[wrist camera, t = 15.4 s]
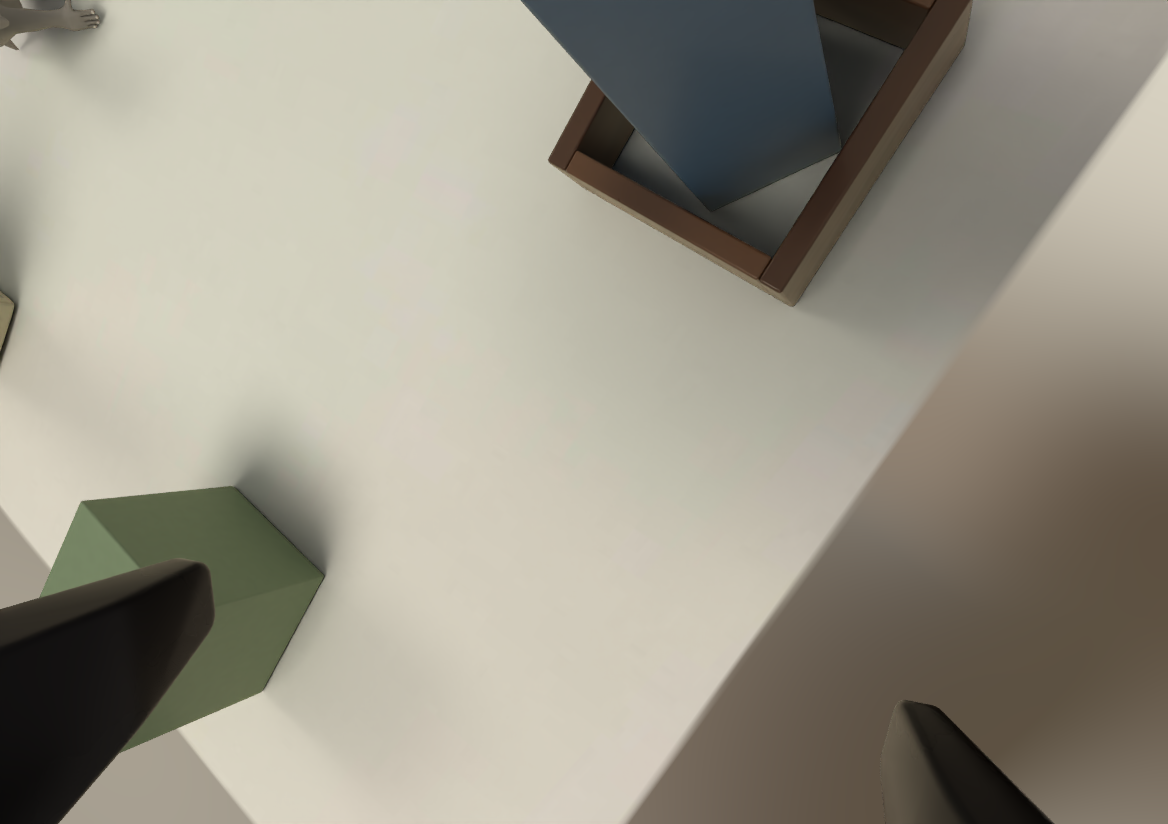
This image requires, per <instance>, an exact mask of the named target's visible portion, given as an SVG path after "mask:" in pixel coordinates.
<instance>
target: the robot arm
mask: <svg viewBox="0 0 1168 824" xmlns="http://www.w3.org/2000/svg"><path fill="white" fill-rule="evenodd" d="M215 614H216V613H215V603H214V595H213V587H212V579H211V572H210V569H209V568H208V566H207V565H206V564H204V563H203V562H199V561H194V560H189V559H184V558H174V559H170V560H167V561H163V562H160V563H156V564H153V565H150V566H146V567H143V568H139V569H136V570H133V571H129V572H126V573H122V574H119V575H116V576H112V577H109V578H105V579H102V580H98V581H95V582H92V583H88V584H85V585H81V586H78V587H75V588H71V589H68V590H64V591H61V592H58V593H54V594H51V595H47V596H44V597H41V598H37V599H34V600H30V601H27V602H24V603H20V604H17V605H13V606H10V607H6V608H3V609H0V824H58V823H59V822H60V821H61V820H62V819H63V818H64V816H65V815H66V814H67V813H68V812H69V811H70V809H71V808H72V807H73V806H74V805H75V804H76V802H77V801H78V800H79V799H80V798H81V797H82V796H83V794H84V793H85V792H86V791H87V790H88V789H89V787H90V786H91V785H92V784H93V783H94V782H95V780H96V779H97V778H98V777H99V776H100V775H101V773H102V772H103V771H104V770H105V769H106V768H107V766H108V765H109V764H110V763H111V762H112V761H113V760H114V758H115V757H116V756H117V755H118V754H119V753H120V751H121V750H122V749H123V748H124V747H125V746H126V744H127V743H128V742H129V741H130V740H131V738H132V737H133V736H134V735H135V734H136V732H137V731H138V730H139V729H140V727H141V726H142V725H143V723H144V722H145V721H146V719H147V718H148V717H149V716H150V714H151V713H152V712H153V710H154V709H155V707H156V706H157V705H158V703H159V702H160V700H161V699H162V698H163V696H164V695H165V694H166V692H167V691H168V689H169V688H170V687H171V685H172V684H173V682H174V681H175V680H176V678H177V677H178V675H179V674H180V673H181V671H182V670H183V669H184V667H185V666H186V664H187V663H188V662H189V660H190V659H191V657H192V656H193V655H194V653H195V652H196V651H197V649H198V648H199V646H200V645H201V644H202V642H203V641H204V639H205V638H206V637H207V635H208V634H209V632H210V631H211V629H212V626H213V624H214V621H215ZM880 776H881V786H882V796H883V806H884V816H885V824H1054V823H1053V822H1052V821H1051V820H1050V819H1049V818H1048V817H1047V816H1046V815H1045V814H1044V813H1043V812H1042V811H1041V810H1040V809H1039V808H1038V807H1037V806H1036V805H1035V804H1034V803H1033V802H1032V801H1031V800H1030V799H1029V798H1028V797H1027V796H1026V795H1025V794H1024V793H1023V792H1022V791H1021V790H1020V789H1019V788H1018V787H1017V786H1016V785H1015V784H1014V783H1013V782H1012V781H1011V780H1010V779H1009V778H1008V777H1007V776H1006V775H1005V774H1004V773H1003V772H1002V771H1001V770H1000V769H999V768H998V767H997V766H996V765H995V764H994V763H993V762H992V761H991V760H990V759H989V758H988V757H987V756H986V755H985V754H984V753H983V752H982V751H981V750H980V749H979V748H978V747H977V746H976V745H975V744H974V743H973V742H972V741H971V740H970V739H969V738H968V737H967V736H966V735H965V734H964V733H963V732H962V731H961V730H960V729H959V728H958V727H957V726H956V725H955V724H954V723H953V722H952V721H951V720H950V719H949V718H948V717H947V716H946V715H945V714H944V713H943V712H942V711H941V710H940V709H939V708H937V707H936V706H933V705H928V704H923V703H918V702H913V701H908V700H902V701H900V702H898V704H897V705H896V707H895V709H894V712H893V715H892V719H891V722H890V726H889V730H888V733H887V737H886V740H885V743H884V747H883V751H882V755H881V763H880Z"/></svg>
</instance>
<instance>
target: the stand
mask: <svg viewBox="0 0 1168 824" xmlns="http://www.w3.org/2000/svg"><path fill="white" fill-rule="evenodd" d="M813 2H814V7H815V12H816V14H819V15H821V16H824V17H826V18H829V19H831V20H834V21H836V22H839V23H841V24H844V25H846V26H849V27H851V28H854V29H856V30H858V31H861V32H863V33H866V34H868V35H871V36H873V37H876V38H878V39H881V40H883V41H886V42H888V43H891V44H893V45H896V46H898V47H901V48H903V49H905V50H904V52H903V53H902V55H901V57H900V58H899V60H898V61H897V63H896V64H895V66H894V68H893V69H892V71H891V72H890V74H889V75H888V77H887V79H886V80H885V82H884V83H883V85H882V86H881V88H880V90H879V91H878V93H877V94H876V96H875V97H874V99H873V101H872V102H871V104H870V105H869V107H868V108H867V110H866V112H865V113H864V115H863V116H862V118H861V120H860V121H859V123H858V124H857V126H856V127H855V129H854V131H853V132H852V134H851V135H850V137H849V138H848V140H847V142H846V143H845V145H844V146H843V148H842V149H841V151H840V153H839V154H838V156H837V157H836V159H835V160H834V162H833V164H832V165H831V167H830V168H829V170H828V171H827V173H826V175H825V176H824V178H823V179H822V181H821V183H820V184H819V186H818V187H817V189H816V190H815V192H814V194H813V195H812V197H811V198H810V200H809V201H808V203H807V205H806V206H805V208H804V209H803V211H802V212H801V214H800V216H799V217H798V219H797V220H796V222H795V223H794V225H793V227H792V228H791V230H790V231H789V233H788V234H787V236H786V238H785V239H784V241H783V242H782V244H781V246H780V247H779V249H778V250H777V252H776V253H775V255H774V257H773V258H771V257H770V256H769V255H767V254H765V253H763V252H762V251H760V250H758V249H756V248H754V247H753V246H751V245H749V244H747V243H745V242H744V241H742V240H740V239H738V238H736V237H734V236H733V235H731V234H729V233H727V232H725V231H724V230H722V229H720V228H718V227H716V226H715V225H713V224H711V223H709V222H707V221H705V220H704V219H702V218H700V217H698V216H696V215H695V214H693V213H691V212H689V211H687V210H686V209H684V208H682V207H680V206H678V205H676V204H675V203H673V202H671V201H669V200H667V199H666V198H664V197H662V196H660V195H658V194H657V193H655V192H653V191H651V190H649V189H647V188H646V187H644V186H642V185H640V184H638V183H637V182H635V181H633V180H631V179H629V178H628V177H626V176H624V175H622V174H620V173H618V172H617V171H615V170H613V169H612V167H613V165H614V163H615V162H616V160H617V158H618V156H619V154H620V153H621V151H622V149H623V147H624V146H625V144H626V142H627V140H628V138H629V137H630V135H631V133H632V131H633V130H634V126H633V125H632V124H631V123H630V122H629V121H628V120H627V119H626V118H625V116H624V115H623V114H622V113H621V112H620V111H619V110H618V109H617V107H616V106H615V105H614V104H613V103H612V102H611V101H610V100H609V99H608V97H607V96H606V95H605V94H604V93H603V92H602V91H601V90H600V88H599V87H598V86H597V85H596V84H595V83H594V82H593V81H592V80H591V81H590V83H589V85H588V86H587V88H586V90H585V92H584V94H583V96H582V98H581V99H580V101H579V103H578V105H577V107H576V109H575V111H574V112H573V114H572V116H571V118H570V120H569V122H568V124H567V125H566V127H565V129H564V131H563V133H562V135H561V136H560V138H559V140H558V142H557V144H556V146H555V148H554V149H553V151H552V153H551V155H550V157H549V159H548V161H549V163H550V164H552V165H553V166H554V167H556V168H557V169H558V170H560V171H561V172H562V173H564V174H565V175H567V176H568V177H569V178H571V179H572V180H573V181H575V182H576V183H577V184H579V185H580V186H581V187H583V188H585V189H586V190H588V191H590V192H592V193H593V194H596V195H597V196H599V197H600V198H602V199H604V200H606V201H607V202H609V203H611V204H613V205H614V206H616V207H618V208H620V209H621V210H623V211H625V212H626V213H628V214H630V215H632V216H633V217H635V218H637V219H639V220H640V221H642V222H644V223H646V224H647V225H649V226H651V227H653V228H654V229H656V230H658V231H660V232H661V233H663V234H665V235H667V236H668V237H670V238H672V239H674V240H675V241H677V242H679V243H681V244H682V245H684V246H686V247H687V248H689V249H691V250H693V251H694V252H696V253H698V254H700V255H701V256H703V257H705V258H707V259H708V260H710V261H712V262H714V263H715V264H717V265H719V266H721V267H722V268H724V269H726V270H728V271H729V272H731V273H733V274H735V275H736V276H738V277H740V278H741V279H743V280H745V281H747V282H748V283H750V284H752V285H754V286H755V287H757V288H759V289H761V290H762V291H764V292H766V293H768V294H769V295H773V296H774V297H775V298H776V299H778V300H780V301H782V302H783V303H785V304H787V305H789V306H790V307H793V306H795V304H796V303H797V301H798V300H799V298H800V297H801V295H802V293H803V292H804V290H805V289H806V287H807V286H808V284H809V283H810V281H811V280H812V278H813V277H814V275H815V274H816V272H817V270H818V269H819V267H820V266H821V264H822V263H823V261H824V260H825V258H826V257H827V255H828V254H829V252H830V251H831V249H832V248H833V246H834V244H835V243H836V241H837V240H838V238H839V237H840V235H841V234H842V232H843V231H844V229H845V228H846V226H847V225H848V223H849V221H850V220H851V218H852V217H853V215H854V214H855V212H856V211H857V209H858V208H859V206H860V205H861V203H862V202H863V200H864V199H865V197H866V195H867V194H868V192H869V191H870V189H871V188H872V186H873V185H874V183H875V182H876V180H877V179H878V177H879V176H880V174H881V172H882V171H883V169H884V168H885V166H886V165H887V163H888V162H889V160H890V159H891V157H892V156H893V154H894V153H895V151H896V150H897V148H898V146H899V145H900V143H901V142H902V140H903V139H904V137H905V136H906V134H907V133H908V131H909V130H910V128H911V127H912V125H913V123H914V122H915V120H916V119H917V117H918V116H919V114H920V113H921V111H922V110H923V108H924V107H925V105H926V104H927V102H928V101H929V99H930V97H931V96H932V94H933V93H934V91H935V90H936V88H937V87H938V85H939V84H940V82H941V81H942V79H943V78H944V76H945V75H946V73H947V71H948V70H949V68H950V67H951V65H952V64H953V62H954V61H955V59H956V58H957V56H958V55H959V53H960V52H961V50H962V48H963V47H964V45H965V40H966V35H967V30H968V24H969V19H970V13H971V8H972V3H973V0H813Z"/></svg>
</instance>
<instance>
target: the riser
mask: <svg viewBox="0 0 1168 824" xmlns="http://www.w3.org/2000/svg"><path fill="white" fill-rule="evenodd" d="M174 558H184V559H189V560H194V561H199V562H203V563H204V564H206V565H207V566H208V568H209V569H210V572H211V579H212V587H213V595H214V603H215V613H216V614H215V621H214V624H213V626H212V629H211V631H210V632H209V634H208V635H207V637H206V638H205V639H204V641H203V642H202V644H201V645H200V646H199V648H198V649H197V651H196V652H195V653H194V655H193V656H192V657H191V659H190V660H189V662H188V663H187V664H186V666H185V667H184V669H183V670H182V671H181V673H180V674H179V675H178V677H177V678H176V680H175V681H174V682H173V684H172V685H171V687H170V688H169V689H168V691H167V692H166V694H165V695H164V696H163V698H162V699H161V700H160V702H159V703H158V705H157V706H156V707H155V709H154V710H153V712H152V713H151V714H150V716H149V717H148V718H147V719H146V721H145V722H144V723H143V725H142V726H141V727H140V729H139V730H138V731H137V732H136V734H135V735H134V736H133V737H132V738H131V740H130V741H129V742H128V743H127V744H126V746H125V747H124V748H123V749H122V750H121V751H120V753H121V752H123V751H125V750H128V749H130V748H132V747H135V746H137V745H139V744H142V743H144V742H146V741H149V740H151V739H153V738H156V737H158V736H160V735H163V734H165V733H167V732H170V731H172V730H174V729H177V728H179V727H181V726H184V725H186V724H188V723H191V722H193V721H195V720H198V719H200V718H202V717H205V716H207V715H209V714H212V713H214V712H216V711H219V710H221V709H223V708H226V707H228V706H230V705H233V704H235V703H237V702H240V701H242V700H244V699H247V698H249V697H251V696H254V695H256V694H258V693H260V692H262V690H263V689H264V687H265V685H266V683H267V681H268V679H269V677H270V676H271V674H272V672H273V670H274V668H275V666H276V664H277V663H278V661H279V659H280V657H281V655H282V653H283V652H284V650H285V648H286V646H287V644H288V642H289V640H290V639H291V637H292V635H293V633H294V631H295V629H296V627H297V626H298V624H299V622H300V620H301V618H302V616H303V615H304V613H305V611H306V609H307V607H308V605H309V603H310V602H311V600H312V598H313V596H314V594H315V592H316V590H317V589H318V587H319V585H320V583H321V581H322V579H323V577H324V576H323V574H322V573H321V572H320V571H319V570H318V569H317V568H316V567H315V566H314V565H313V564H312V563H311V562H310V561H309V560H308V559H307V558H306V557H305V556H304V555H302V554H301V553H300V552H299V551H298V550H297V549H296V548H295V547H294V546H293V545H292V544H291V543H290V542H289V541H288V540H287V539H286V538H285V537H284V536H283V535H282V534H281V533H280V532H279V531H278V530H277V529H276V528H275V527H274V526H273V525H272V524H271V523H270V522H269V521H268V520H267V519H266V518H265V517H264V516H263V515H262V514H261V513H260V512H259V511H258V510H257V509H256V508H255V507H254V506H253V505H252V504H251V503H250V502H249V501H248V500H247V499H246V498H245V497H244V496H243V495H242V494H241V493H240V492H239V491H238V490H237V489H236V488H235V487H233V486H228V487H218V488H208V489H198V490H188V491H178V492H168V493H158V494H147V495H137V496H127V497H117V498H107V499H97V500H87V501H82V502H81V503H80V505H79V507H78V510H77V512H76V514H75V517H74V519H73V521H72V524H71V526H70V528H69V530H68V533H67V535H66V537H65V540H64V542H63V544H62V547H61V549H60V551H59V553H58V556H57V558H56V560H55V563H54V565H53V567H52V570H51V572H50V574H49V577H48V579H47V581H46V583H45V586H44V588H43V591H42V593H41V595H40V597H39V598H41V597H44V596H47V595H51V594H54V593H58V592H61V591H64V590H68V589H71V588H75V587H78V586H81V585H85V584H88V583H92V582H95V581H98V580H102V579H105V578H109V577H112V576H116V575H119V574H122V573H126V572H129V571H133V570H136V569H139V568H143V567H146V566H150V565H153V564H156V563H160V562H163V561H167V560H170V559H174Z"/></svg>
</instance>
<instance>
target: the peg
mask: <svg viewBox="0 0 1168 824" xmlns="http://www.w3.org/2000/svg"><path fill="white" fill-rule="evenodd" d="M521 1H522V2H523V4H524V5H525V6H526V7H527V8H528V9H529V10H530V11H531V12H532V14H533V15H534V16H535V17H536V18H537V19H538V20H539V21H540V23H541V24H542V25H543V26H544V27H545V28H546V29H547V30H548V31H549V33H550V34H551V35H552V36H553V37H554V38H555V39H556V40H557V42H558V43H559V44H560V45H561V46H562V47H563V48H564V49H565V50H566V52H567V53H568V54H569V55H570V56H571V57H572V58H573V59H574V61H575V62H576V63H577V64H578V65H579V66H580V67H581V68H582V69H583V71H584V72H585V73H586V74H587V75H588V76H589V77H590V78H591V80H592V81H593V82H594V83H595V84H596V85H597V86H598V87H599V88H600V90H601V91H602V92H603V93H604V94H605V95H606V96H607V97H608V99H609V100H610V101H611V102H612V103H613V104H614V105H615V106H616V107H617V109H618V110H619V111H620V112H621V113H622V114H623V115H624V116H625V118H626V119H627V120H628V121H629V122H630V123H631V124H632V125H633V126H634V128H635V129H636V130H637V131H638V132H639V133H640V134H641V135H642V137H643V138H644V139H645V140H646V141H647V142H648V143H649V144H650V145H651V147H652V148H653V149H654V150H655V151H656V152H657V153H658V154H659V156H660V157H661V158H662V159H663V160H664V161H665V162H666V163H667V164H668V166H669V167H670V168H671V169H672V170H673V171H674V172H675V173H676V175H677V176H678V177H679V178H680V179H681V180H682V181H683V182H684V183H685V185H686V186H687V187H688V188H689V189H690V190H691V191H692V192H693V194H694V195H695V196H696V197H697V198H698V199H699V200H700V201H701V202H702V204H703V205H704V206H705V207H706V208H707V209H708V210H709V211H713V210H715V209H718V208H720V207H722V206H724V205H726V204H728V203H730V202H733V201H735V200H737V199H739V198H741V197H743V196H745V195H747V194H750V193H752V192H754V191H756V190H758V189H760V188H762V187H765V186H767V185H769V184H771V183H773V182H775V181H777V180H780V179H782V178H784V177H786V176H788V175H790V174H792V173H794V172H797V171H799V170H801V169H803V168H805V167H807V166H809V165H812V164H814V163H816V162H818V161H820V160H822V159H824V158H827V157H829V156H831V155H833V154H835V153H837V152H839V151H841V149H842V145H841V140H840V135H839V130H838V125H837V120H836V114H835V109H834V104H833V99H832V94H831V89H830V84H829V79H828V74H827V69H826V63H825V58H824V53H823V48H822V43H821V38H820V33H819V28H818V23H817V18H816V12H815V7H814V2H813V0H521Z"/></svg>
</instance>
